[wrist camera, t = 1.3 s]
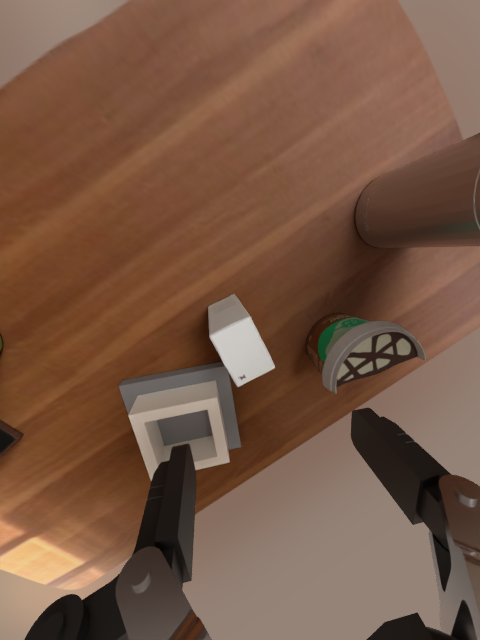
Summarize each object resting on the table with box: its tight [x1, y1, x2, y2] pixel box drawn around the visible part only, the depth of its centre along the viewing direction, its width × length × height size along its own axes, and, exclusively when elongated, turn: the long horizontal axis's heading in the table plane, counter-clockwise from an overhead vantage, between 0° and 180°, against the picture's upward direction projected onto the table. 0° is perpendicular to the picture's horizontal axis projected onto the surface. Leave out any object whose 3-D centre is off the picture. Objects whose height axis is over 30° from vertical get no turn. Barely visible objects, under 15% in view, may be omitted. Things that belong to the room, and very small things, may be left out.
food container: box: [306, 313, 426, 394], centre depth 30 cm, size 12×6×10 cm, turn 108°
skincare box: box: [208, 294, 275, 387], centre depth 26 cm, size 6×4×12 cm
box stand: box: [119, 362, 241, 480], centre depth 33 cm, size 15×15×6 cm
